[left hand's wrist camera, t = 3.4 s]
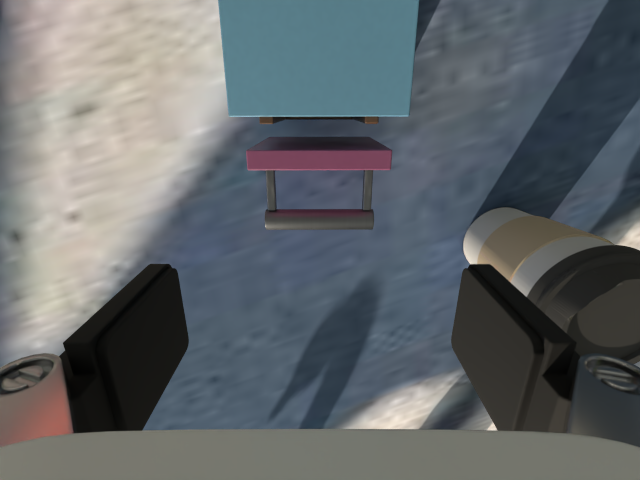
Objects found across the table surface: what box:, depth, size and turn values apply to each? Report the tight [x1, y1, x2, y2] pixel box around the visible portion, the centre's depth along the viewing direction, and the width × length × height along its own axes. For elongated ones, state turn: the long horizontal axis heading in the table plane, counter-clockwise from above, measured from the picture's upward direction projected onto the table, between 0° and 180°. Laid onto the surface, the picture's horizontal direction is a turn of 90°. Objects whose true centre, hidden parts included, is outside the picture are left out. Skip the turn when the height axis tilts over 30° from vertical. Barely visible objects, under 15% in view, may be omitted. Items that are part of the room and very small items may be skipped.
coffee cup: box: [463, 207, 640, 364], centre depth 27 cm, size 9×9×15 cm
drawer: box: [246, 116, 392, 230], centre depth 23 cm, size 22×9×10 cm, turn 0°
